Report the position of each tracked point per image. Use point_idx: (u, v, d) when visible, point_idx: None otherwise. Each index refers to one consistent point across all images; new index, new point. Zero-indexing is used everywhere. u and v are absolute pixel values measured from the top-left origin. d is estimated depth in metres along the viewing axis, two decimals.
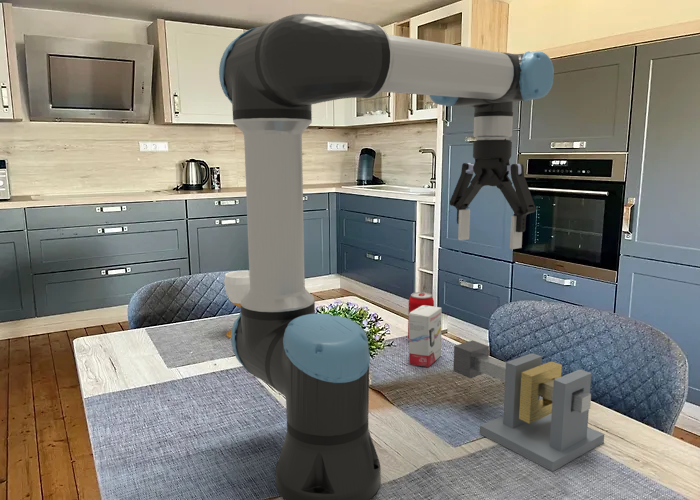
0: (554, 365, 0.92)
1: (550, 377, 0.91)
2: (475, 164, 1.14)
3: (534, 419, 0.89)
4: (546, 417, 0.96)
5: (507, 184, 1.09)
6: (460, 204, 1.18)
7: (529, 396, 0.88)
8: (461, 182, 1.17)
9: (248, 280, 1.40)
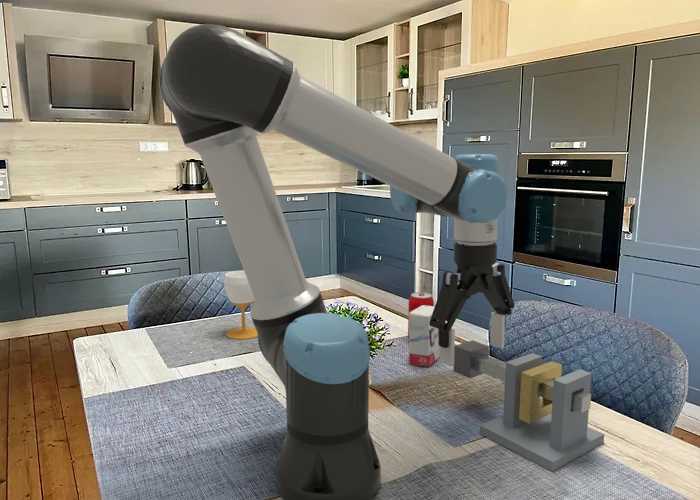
0: (554, 365, 0.92)
1: (550, 377, 0.91)
2: None
3: (534, 419, 0.89)
4: (546, 417, 0.96)
5: (458, 293, 0.98)
6: None
7: (529, 396, 0.88)
8: None
9: None
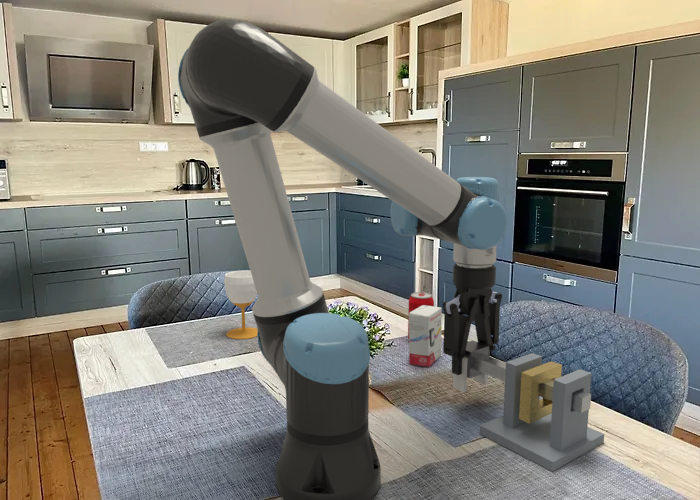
0: (554, 365, 0.92)
1: (550, 377, 0.91)
2: None
3: (534, 419, 0.89)
4: (546, 417, 0.96)
5: (462, 319, 1.00)
6: None
7: (529, 396, 0.88)
8: None
9: (248, 280, 1.40)
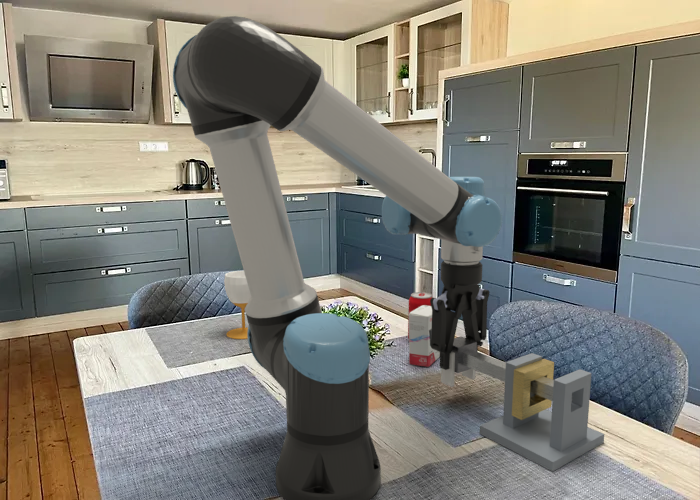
0: (547, 362, 0.93)
1: (542, 374, 0.92)
2: None
3: (526, 416, 0.91)
4: (546, 417, 0.96)
5: (449, 315, 1.02)
6: None
7: (522, 393, 0.89)
8: None
9: None
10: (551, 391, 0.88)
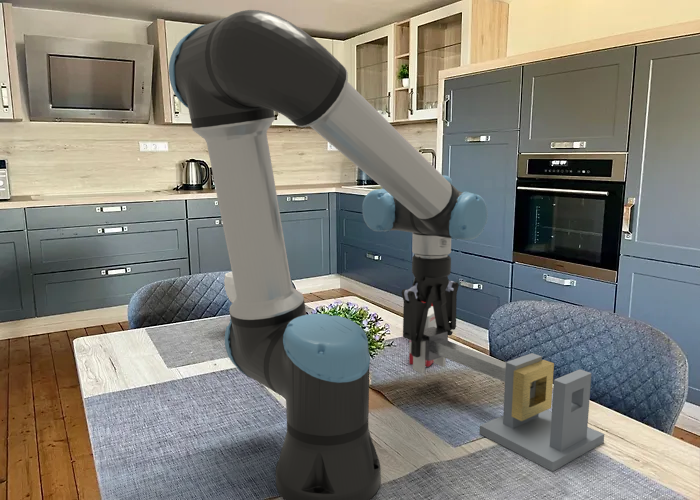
0: (547, 363, 0.93)
1: (542, 375, 0.92)
2: None
3: (526, 417, 0.91)
4: (546, 417, 0.96)
5: (420, 306, 1.09)
6: None
7: (522, 394, 0.89)
8: None
9: None
10: None
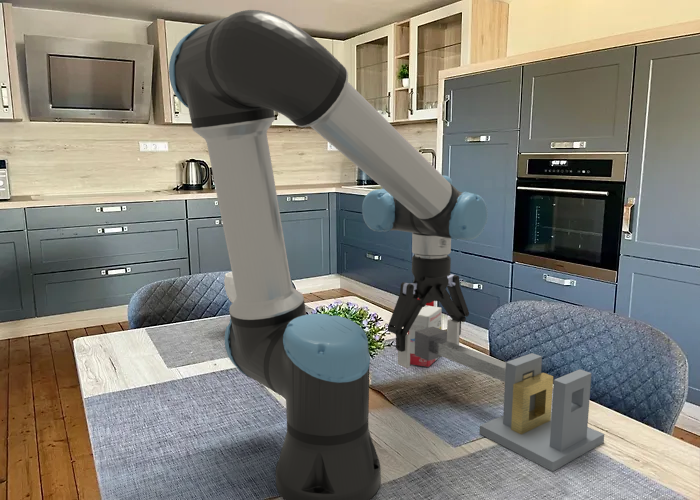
0: (546, 376, 0.94)
1: (542, 388, 0.92)
2: None
3: (526, 430, 0.91)
4: None
5: (415, 302, 1.08)
6: None
7: (521, 408, 0.90)
8: None
9: None
10: None
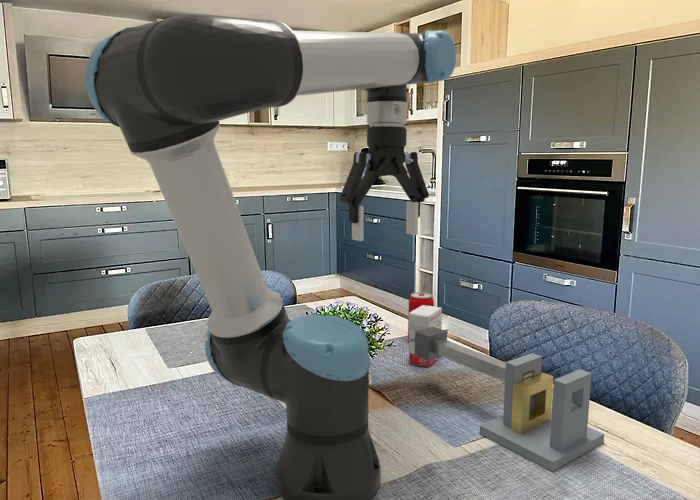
0: (546, 376, 0.94)
1: (542, 388, 0.92)
2: None
3: (526, 430, 0.91)
4: None
5: (369, 173, 1.04)
6: None
7: (521, 408, 0.90)
8: None
9: None
10: None
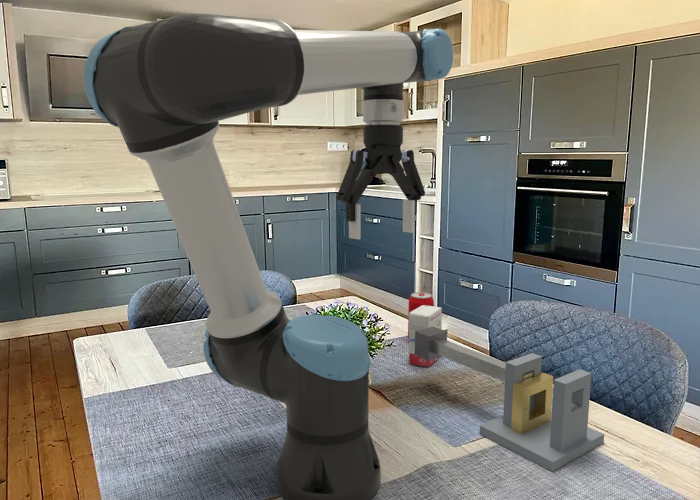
0: (546, 376, 0.94)
1: (542, 388, 0.92)
2: None
3: (526, 430, 0.91)
4: None
5: (366, 172, 1.04)
6: None
7: (521, 408, 0.90)
8: None
9: None
10: None
